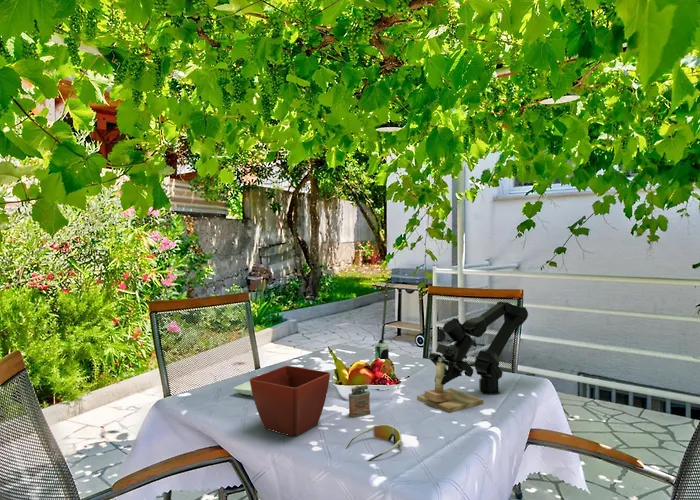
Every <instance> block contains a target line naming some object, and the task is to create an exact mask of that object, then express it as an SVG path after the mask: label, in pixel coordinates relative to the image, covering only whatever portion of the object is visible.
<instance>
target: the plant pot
mask: <svg viewBox="0 0 700 500" xmlns="http://www.w3.org/2000/svg"><path fill="white" fill-rule="evenodd" d="M330 376H331V372H329V371H324V370H318V369H310V368H305V367H299V366H294V365H293V366H292V365H284V366H282V367H279V368H276V369H273V370H271V371H268V372H265V373H261V374H259V375H257V376H254V377H251V378H250V379H249V381H250V385H251V390H252V394H253V397H252V398H253V400H254V404H255V407H256V410H257V413H258V415H259V418H260V421H261V423H262V425H263V427H264V429H265V428H266V429H270V430H274V431H277V432H280V433H279V434H281V433H284V434H283V435H285V434H288V435H287V436H289V435H290V436H289V437H293V436H295V437H297V435H298V436H299V435H301V434H303V433H305V432H306V431H308V430H310V429H311V428H313V427H315V426H317V425H318V424H319V421H320V420H321V419H320V418H321V415H322V412H323V411H324V410H323V409H324V406H325V403H326V399H327V394H328V389H329V383H330V378H331V377H330ZM266 429H265V430H266ZM270 430H269V431H270ZM277 432H276V433H277Z"/></svg>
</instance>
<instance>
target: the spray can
mask: <svg viewBox="0 0 700 500" xmlns="http://www.w3.org/2000/svg"><path fill="white" fill-rule="evenodd" d="M378 358H380V359H388V360H389V359H390V357H389V344H387V343H386V342H385V340H384V339H382V338H381V339H379V341H378V342H377V344H375V346H374V361H375V360H376V359H378Z"/></svg>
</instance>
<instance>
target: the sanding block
mask: <svg viewBox="0 0 700 500" xmlns="http://www.w3.org/2000/svg"><path fill="white" fill-rule="evenodd" d="M435 366H436V365H435ZM444 372H445V363H441V362H437V366H436V370H435V377H436V380H435V379H434V389H431V390H424V394H425V398H426V399H429V400H431V401H434V402H443V401H452V397H453V394H452V393H450V392H447V391H444V385H445V384H444V385H442V384H441V382H442V379H443V378H444V376H445V375H444Z"/></svg>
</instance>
